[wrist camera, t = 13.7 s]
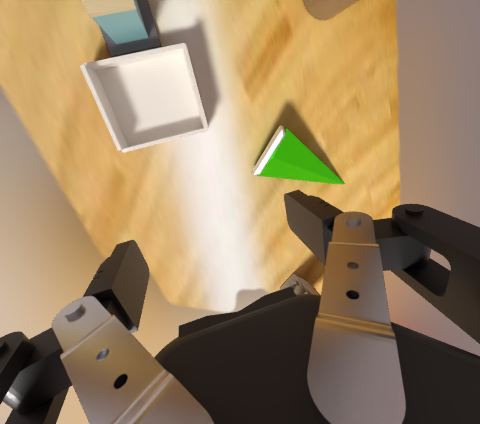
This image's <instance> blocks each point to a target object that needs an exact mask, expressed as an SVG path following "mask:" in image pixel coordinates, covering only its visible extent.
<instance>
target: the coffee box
mask: <svg viewBox="0 0 480 424" xmlns="http://www.w3.org/2000/svg"><path fill="white" fill-rule="evenodd" d="M290 286H291V287H292V289H293V291H294V292H295V294H315V295H320V294H319V293H318V292H317V291H316V289H315V288H314V287H313V285H312V284H310V283H308V282H307V281H305V280H304V279H302V278H300V277H299V276H297V275H296V274H292V275H291V277H290V278H289V279H288V280H287V281H286V282H285V283H284V284H283V285H282V286H281V288H280V289H281V290H282V289H284V288H287V287H290Z"/></svg>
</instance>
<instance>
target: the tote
mask: <svg viewBox="0 0 480 424" xmlns="http://www.w3.org/2000/svg"><path fill="white" fill-rule="evenodd" d="M80 67H81V70H82V72H83V74H84V76H85V78H86V81H87V83H88V85H89V87H90V90H91V92H92V94H93V96H94V98H95V101H96V103H97V105H98V107H99V110H100V112H101V114H102V116H103V118H104V121H105V123H106V125H107V127H108V129H109V132H110V134H111V136H112V138H113V141H114V143H115V145H116V147H117V149H118V151H120V150H122V152H123V153H124V152H128V151H132V150H136V149H139V148H143V147H147V146H151V145H155V144H159V143H163V142H167V141H170V140H174V139H178V138H182V137H186V136H190V135H194V134H198V133H202V132H205V131H208V124H207V121H206V117H205V113H204V109H203V106H202V102H201V98H200V94H199V91H198V87H197V83H196V79H195V76H194V72H193V68H192V64H191V61H190V57H189V53H188V49H187V46H186V44H185V43H180V44H176V45H171V46H166V47H161V48H156V49H152V50H147V51H142V52H137V53H132V54H128V55H123V56H118V57H113V58H108V59H104V60H99V61H94V62H89V63H84V65H81V66H80Z"/></svg>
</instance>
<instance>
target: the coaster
mask: <svg viewBox="0 0 480 424" xmlns="http://www.w3.org/2000/svg"><path fill="white" fill-rule="evenodd" d="M137 4H138V7H139V10H140V13H141V16H142V19H143V22H144V25H145V28H146V31H147V34H148V38H146V39H141V40H136V41H131V42H126V43H121V44H116V43H115V42H114V41H113V40H112V39H111V38H110V36H109V35H108V34H107V33H106V32H105V31H104V30H103V29H102V28H101V27H100V26H99V27H100V29H101V32H102V34H103V37H104V39H105V42H106V45H107V47H108V50H109V52H110V55H111V56H112V57H114V56H119V55H124V54H129V53H134V52H138V51H143V50H148V49H153V48H158V47H161V44H160V41H159V37H158V34H157V31H156V28H155V24H154V21H153V18H152V15H151V11H150V8H149V5H148V2H147V0H137Z"/></svg>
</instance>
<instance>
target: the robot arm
mask: <svg viewBox="0 0 480 424" xmlns="http://www.w3.org/2000/svg"><path fill="white" fill-rule="evenodd" d="M357 1H359V0H303V2H304V5H305V7H306V9H307V11H308V12H309V13H310V14H311V15H312V16H313V17H315V18H317V19H320V20H327V19H330V18H332V17H334V16H336V15H337V14H339V13H340V12H342V11H343V10H345V9H346V8H348V7H350V6H351V5H353V4H354V3H356V2H357ZM284 201H285V207H286V214H287V221H288V224H289V227H290V228H291V230H292V231H293V232H294V233H295V234H296V235H297V236H298V237H299V239H300V240H301V241H302V242H303V243H304V244H305V245H306V246H307V247H308V248H309V249H310V250H311V251H312V252H313V253H314V254H315V255H316V256H317V258H318V259H319V260H320V261H321V262H322V263H323V264H324V265H325V273H324V279H323V286H322V293H321V295H315V294H295V292H294V291H293V289H292V287H291V286H290V287H287V288H284V289H282V290H279V291H276V292H273V293H270V294H268V295H265V296H263V297H261V298H260V299H258V300H257V301H255V302H253V303H252V304H250V305H248V306H247V307H245V308H244V309H242V310H240V311H238V312H233V313H225V314H218V315H210V316H206V317H203V318H200V319H197V320H195V321H192V322H189V323H186V324H183V325H180V326H179V337H177V338H176V339H174V340H173V341H172V342H170V343H169V344H168V345H167V346H165V347H164V348H163V349H162V350H161V351H160V352H159V353H158V354H157V355H156V356H155V357H153V356H152V355H151V354H150V353H149V352H148V351H147V350H146V349H145V348H144V347H143V345H142V344H141V343H140V342H139V341H138V340H137V339H136V338H135V337H134V336H133V335H132V334H131V333H133V332H135V331H138V327H139V322H140V318H141V313H142V308H143V303H144V299H145V294H146V289H147V285H148V279H149V268H148V265H147V263H146V261H145V259H144V257H143V255H142V253H141V251H140V249H139V247H138V245H137V243H136V242H135V241H134V240H130V241H127V242H124V243H120V244H117V245H116V247H115V249H114V251H113V253H112V255H111V256H110V257H108V258H107V259H106V260H105V261H104V262H103V263H102V264H101V265H100V267H99V269H98V270H97V274H95V276H94V278H93V280H92V281H91V283H90V285H89V287H88V288H87V290H86V292H85V294H84V296H83V297H82V298H80V299H77V300H75V301H73V302H72V303H70V304H69V305H67V306H66V307H65V308H63V310H61V311H60V312H59V313H58V314H57V315H56V317H55V318H54V320H53V322H52V328H50V329H48V330H46V331H44V332H42V333H41V334H39V335H37V336H35V337H33V338H31V339H28V338H27V337H26V336H25V335H24V334H23V333H22V332H13V333H10V334H7V335H5V336H3V337H1V338H0V404H1V403H2V401H3V402H5V403H6V404H7V405H8V406H10V407H11V408H12V409H13V410H12V412H11V414H10V416H9V417H8V419H7V421H6V423H5V424H56V422H57V419H58V416H59V414H60V411H61V408H62V406H63V403H64V400H65V397H66V395H67V392H68V389H69V387H70V386H72V385H73V387H74V389H75V392H76V393H77V396H78V398H79V401H80V403H81V405H82V408H83V410H84V412H85V414H86V416H87V419H88V421H89V423H90V424H480V356H478V355H475V354H472V353H470V352H467V351H465V350H462V349H459V348H457V347H454V346H451V345H449V344H446V343H444V342H441V341H439V340H436V339H434V338H431V337H428V336H426V335H423V334H421V333H418V332H416V331H413V330H411V329H408V328H405V327H403V326H400V325H398V324H395V323H393V322H390V315H389V309H388V302H387V295H386V288H385V282H384V276H383V271H386V270H391V271H392V272H393V273H394V274H395V275H397V276H398V277H399V278H400V279H401V280H403V281H404V282H405V283H406V284H408V285H409V286H410V287H411V288H412V289H414V290H415V291H416V292H417V293H419V294H420V295H421V296H422V297H423V298H425V299H426V300H427V301H428V302H429V303H431V304H432V305H433V306H434V307H435V308H437V309H438V310H439V311H440V312H442V313H443V314H444V315H445V316H447V317H448V318H449V319H450V320H451V321H453V322H454V323H455V324H456V325H458V326H459V327H460V328H461V329H462V330H463V331H465V332H466V333H467V334H468V335H470V336H471V337H472V338H473V339H475V340H476V341H477V342H478V343H479V344H480V228H479V227H477V226H475V225H472V224H470V223H467V222H465V221H462V220H460V219H458V218H455V217H452V216H450V215H448V214H445V213H443V212H440V211H438V210H436V209H433V208H431V207H428V206H424V205H419V204H404V205H399V206H396V207H395V208H393V210H392V218H387V219H379V220H373V219H372V217H371V216H369V215H368V214H365V213H362V212H345V213H344V212H342V211H341V210H339V209H337V208H336V207H334V206H332V205H330V204H329V203H327V202H325V201H324V200H322V199H321V198H319V197H315V196H311V195H310V196H307V195H306V194H304V193H303V192H301V191H300V190H296V191H293V192H289V193H286V194H285V195H284ZM431 249H433V250H434V251H436V252H438V253H439V254H441V255H443V256H444V257H445V258H446V259H447V260H448V261H449V263H450V266H451V271H450V270H448V269H446V268H445V267H443V266H441V265H440V264H438V263H437V262H435V261H434V260H432V259H430V252H431Z"/></svg>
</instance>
